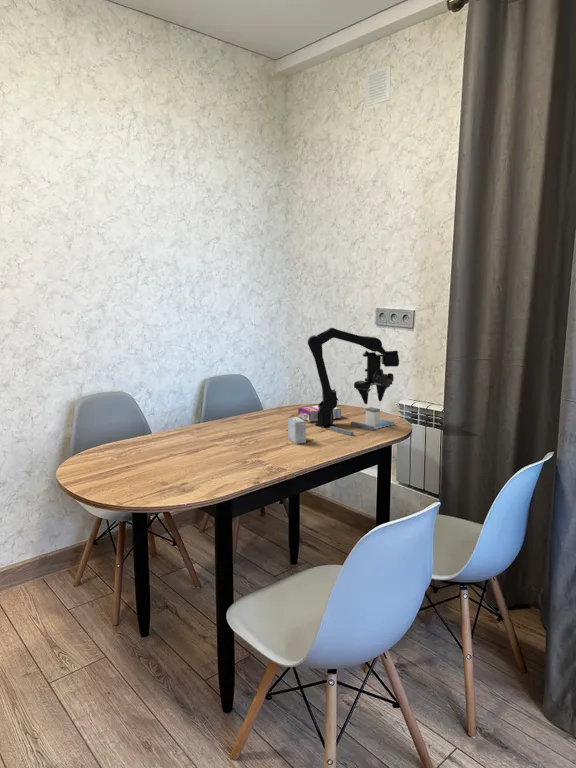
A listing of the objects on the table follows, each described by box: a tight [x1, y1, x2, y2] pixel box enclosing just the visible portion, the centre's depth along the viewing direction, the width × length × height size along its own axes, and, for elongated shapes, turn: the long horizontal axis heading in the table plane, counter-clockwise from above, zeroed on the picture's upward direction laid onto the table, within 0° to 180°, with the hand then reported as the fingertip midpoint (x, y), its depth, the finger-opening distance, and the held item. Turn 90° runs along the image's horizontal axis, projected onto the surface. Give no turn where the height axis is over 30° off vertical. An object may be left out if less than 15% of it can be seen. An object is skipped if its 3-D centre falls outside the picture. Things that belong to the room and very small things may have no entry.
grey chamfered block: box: [365, 406, 381, 426], centre depth 230 cm, size 4×5×7 cm
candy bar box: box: [297, 405, 342, 423], centre depth 243 cm, size 11×5×16 cm
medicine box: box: [287, 416, 307, 445], centre depth 206 cm, size 8×4×9 cm, turn 22°
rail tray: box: [329, 418, 395, 437], centre depth 226 cm, size 27×12×2 cm, turn 130°
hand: (373, 402), depth 229 cm, fingers open, 9 cm apart
